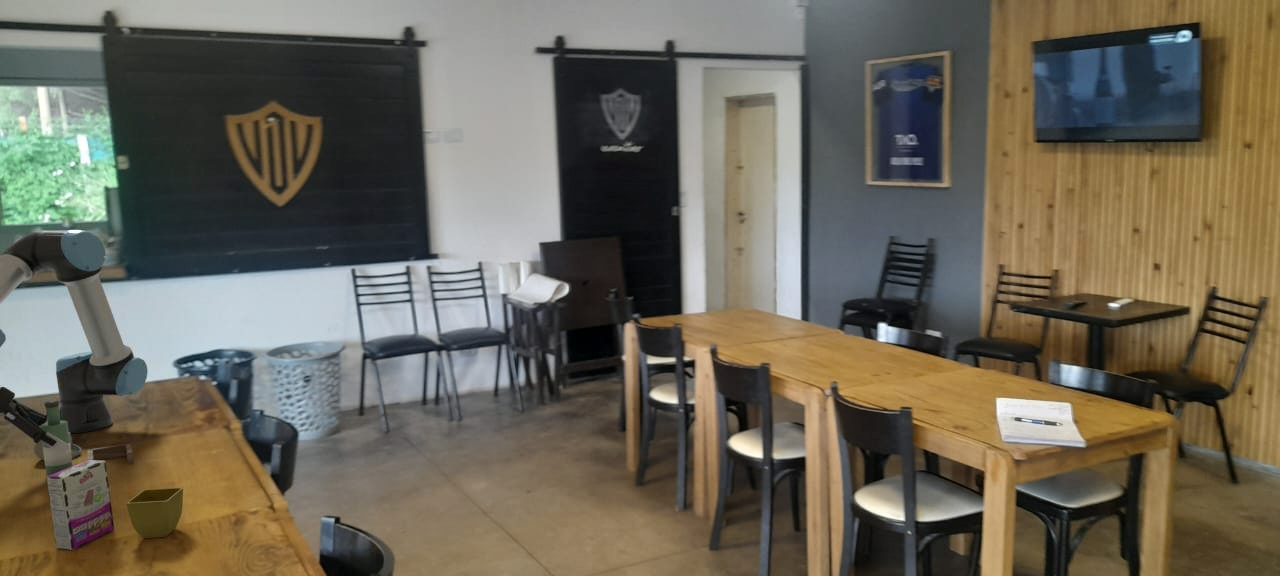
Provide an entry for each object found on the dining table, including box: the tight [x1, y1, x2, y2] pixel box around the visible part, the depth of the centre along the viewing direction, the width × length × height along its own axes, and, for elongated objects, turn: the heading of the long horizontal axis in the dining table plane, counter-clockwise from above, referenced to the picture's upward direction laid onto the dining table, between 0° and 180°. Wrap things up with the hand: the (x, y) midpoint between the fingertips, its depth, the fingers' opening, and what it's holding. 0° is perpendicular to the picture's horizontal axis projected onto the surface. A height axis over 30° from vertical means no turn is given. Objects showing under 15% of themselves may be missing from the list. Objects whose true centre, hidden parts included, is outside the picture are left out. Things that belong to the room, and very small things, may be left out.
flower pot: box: [126, 487, 184, 539], centre depth 204 cm, size 9×9×9 cm
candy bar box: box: [46, 459, 115, 551], centre depth 201 cm, size 11×5×16 cm, turn 164°
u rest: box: [87, 442, 134, 465], centre depth 255 cm, size 10×10×3 cm
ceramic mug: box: [33, 433, 82, 461], centre depth 260 cm, size 11×8×8 cm
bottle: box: [40, 399, 73, 477], centre depth 243 cm, size 6×6×20 cm
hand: (66, 443), depth 245 cm, fingers open, 13 cm apart
